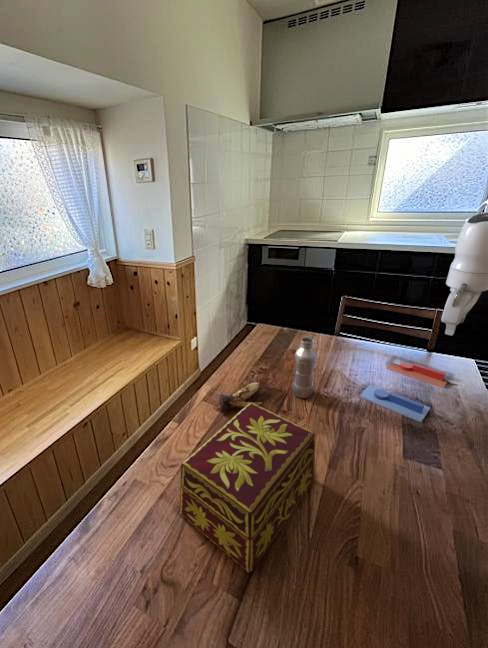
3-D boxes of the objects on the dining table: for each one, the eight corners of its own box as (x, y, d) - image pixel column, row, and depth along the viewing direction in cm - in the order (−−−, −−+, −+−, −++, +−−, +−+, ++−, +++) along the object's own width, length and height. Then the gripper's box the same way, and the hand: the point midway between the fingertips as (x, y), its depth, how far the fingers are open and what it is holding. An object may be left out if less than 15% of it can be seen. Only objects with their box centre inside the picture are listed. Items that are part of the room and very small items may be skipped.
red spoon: (445, 377, 111) (446, 371, 110) (441, 382, 109) (443, 376, 108) (401, 363, 120) (403, 357, 119) (397, 368, 118) (398, 362, 117)
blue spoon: (423, 409, 98) (425, 402, 97) (419, 415, 96) (421, 409, 95) (376, 390, 107) (378, 384, 106) (371, 396, 105) (372, 390, 104)
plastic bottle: (292, 399, 107) (296, 344, 99) (291, 387, 113) (295, 334, 104) (313, 402, 105) (320, 346, 97) (311, 389, 111) (317, 335, 103)
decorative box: (250, 575, 62) (251, 522, 56) (178, 513, 74) (173, 464, 68) (315, 479, 80) (321, 430, 74) (249, 441, 92) (250, 397, 86)
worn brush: (233, 425, 99) (273, 398, 108) (233, 413, 97) (274, 386, 106) (212, 408, 105) (252, 384, 115) (212, 397, 103) (252, 373, 113)
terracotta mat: (450, 377, 112) (451, 376, 112) (443, 388, 107) (444, 386, 107) (394, 359, 124) (395, 358, 124) (386, 368, 119) (386, 367, 119)
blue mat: (429, 409, 99) (430, 407, 99) (421, 422, 94) (421, 421, 94) (369, 385, 111) (370, 384, 111) (359, 396, 106) (359, 395, 106)
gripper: (474, 293, 77) (458, 345, 83) (492, 272, 89) (477, 319, 95) (441, 287, 82) (428, 337, 87) (463, 268, 94) (450, 313, 100)
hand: (454, 328), depth 91 cm, fingers open, 8 cm apart
